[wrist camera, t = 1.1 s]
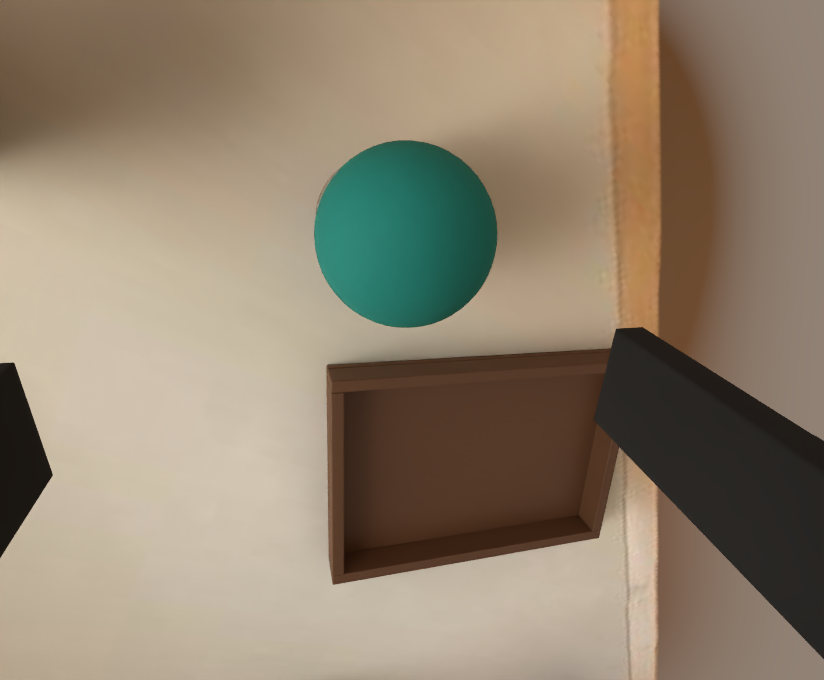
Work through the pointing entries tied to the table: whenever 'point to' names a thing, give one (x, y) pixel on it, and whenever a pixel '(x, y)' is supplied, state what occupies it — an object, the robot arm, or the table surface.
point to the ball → (405, 234)
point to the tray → (463, 459)
